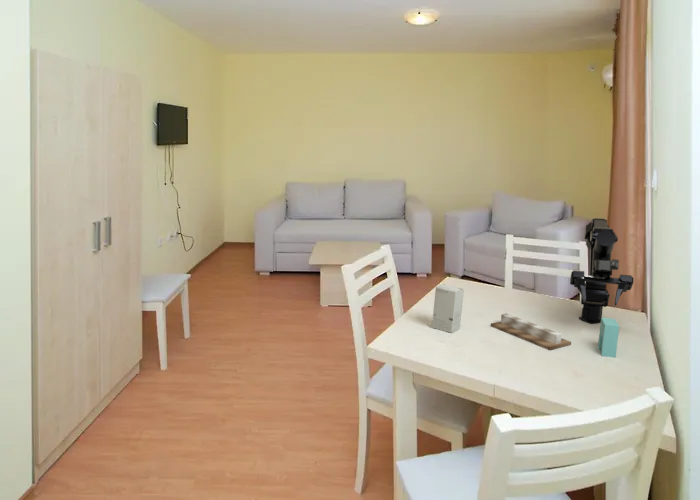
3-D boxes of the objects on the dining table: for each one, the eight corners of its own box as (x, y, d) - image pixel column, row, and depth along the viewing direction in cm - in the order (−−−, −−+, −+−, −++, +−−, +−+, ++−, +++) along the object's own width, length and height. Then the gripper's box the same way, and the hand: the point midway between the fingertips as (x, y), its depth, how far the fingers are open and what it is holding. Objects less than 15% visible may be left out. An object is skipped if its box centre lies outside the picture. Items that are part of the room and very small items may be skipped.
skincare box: (431, 328, 205) (433, 286, 202) (440, 323, 209) (443, 283, 206) (452, 333, 200) (455, 291, 197) (461, 329, 204) (464, 287, 201)
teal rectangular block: (597, 347, 189) (601, 317, 187) (611, 348, 188) (614, 318, 186) (601, 355, 182) (605, 324, 180) (615, 357, 181) (619, 326, 179)
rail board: (490, 326, 208) (491, 315, 207) (511, 321, 213) (511, 311, 212) (549, 350, 186) (550, 338, 185) (571, 344, 191) (572, 333, 190)
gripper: (574, 247, 194) (571, 289, 187) (636, 251, 188) (636, 295, 181) (571, 263, 203) (568, 304, 196) (630, 268, 198) (630, 310, 191)
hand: (600, 303), depth 191 cm, fingers open, 9 cm apart
